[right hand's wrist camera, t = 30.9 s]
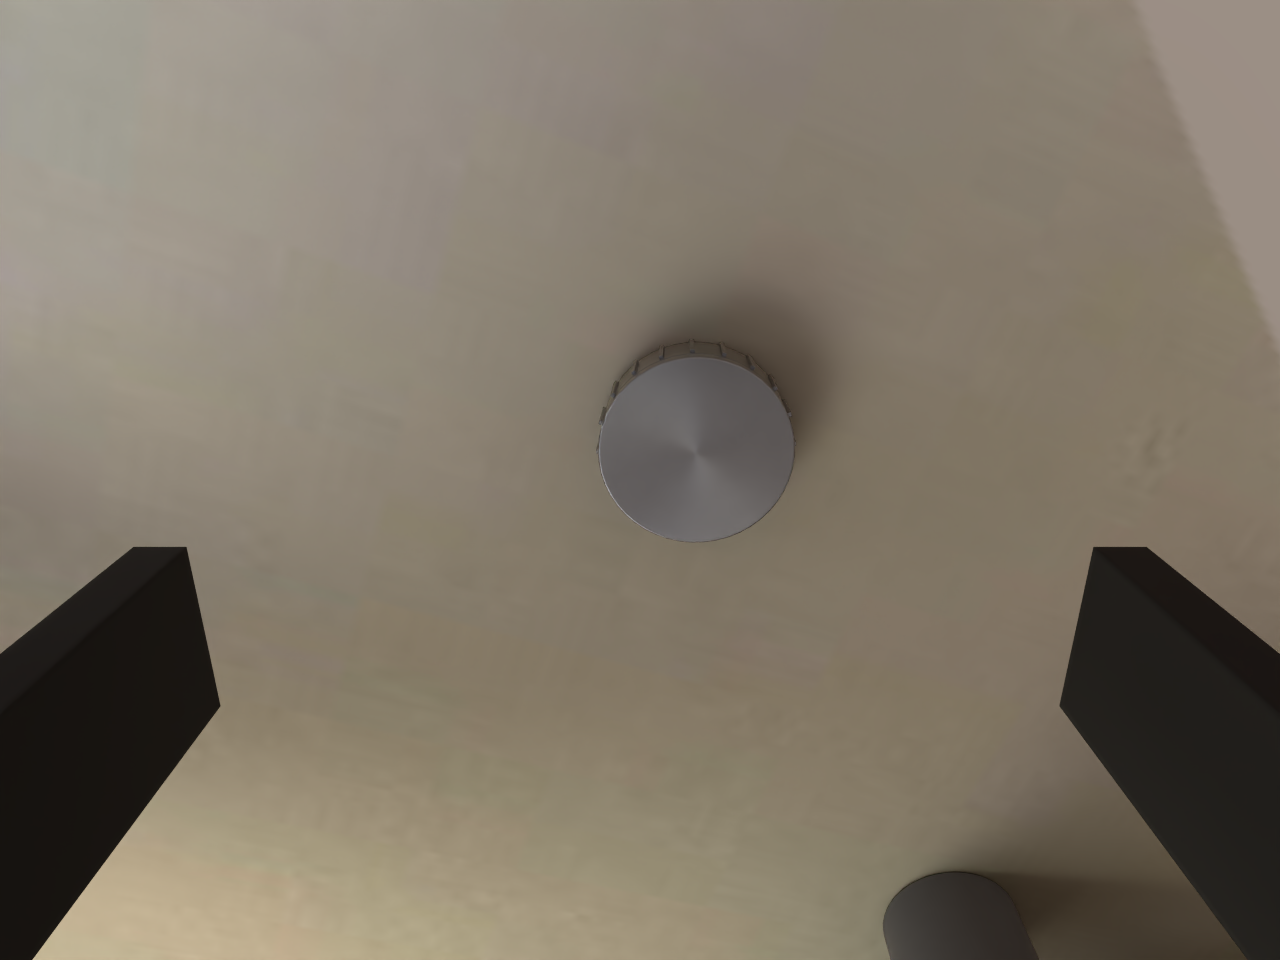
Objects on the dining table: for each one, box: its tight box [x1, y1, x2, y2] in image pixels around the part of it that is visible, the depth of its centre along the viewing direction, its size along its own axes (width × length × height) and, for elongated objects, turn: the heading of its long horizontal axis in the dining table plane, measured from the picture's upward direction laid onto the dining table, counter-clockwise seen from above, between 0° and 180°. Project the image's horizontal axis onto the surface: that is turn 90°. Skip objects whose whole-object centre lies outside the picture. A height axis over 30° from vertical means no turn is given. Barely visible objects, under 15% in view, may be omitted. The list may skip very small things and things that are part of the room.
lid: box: [596, 339, 796, 542], centre depth 22 cm, size 5×5×2 cm
